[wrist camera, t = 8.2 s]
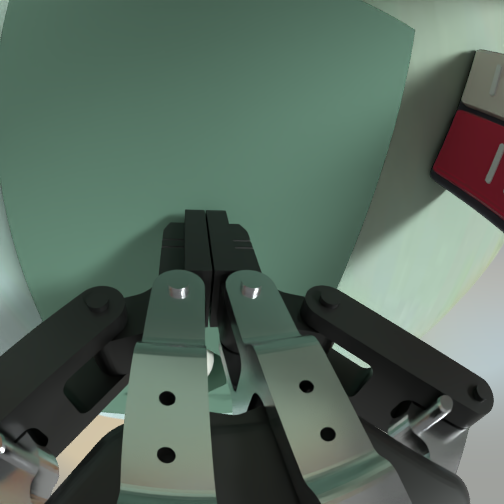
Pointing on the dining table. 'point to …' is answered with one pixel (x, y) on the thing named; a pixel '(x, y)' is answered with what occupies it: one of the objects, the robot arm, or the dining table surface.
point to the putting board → (192, 137)
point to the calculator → (477, 141)
